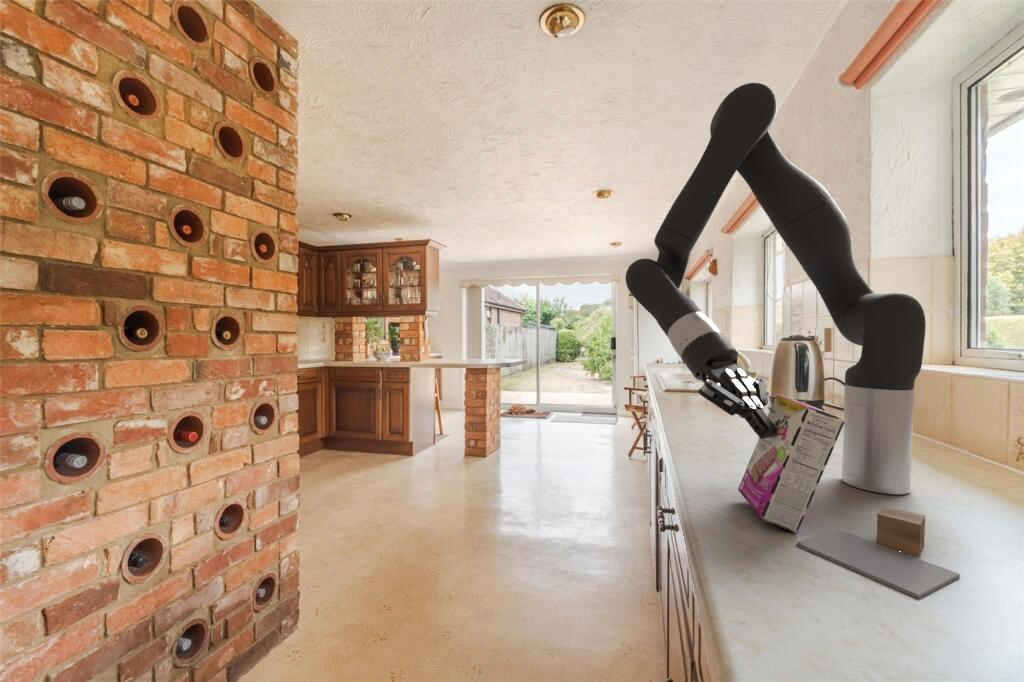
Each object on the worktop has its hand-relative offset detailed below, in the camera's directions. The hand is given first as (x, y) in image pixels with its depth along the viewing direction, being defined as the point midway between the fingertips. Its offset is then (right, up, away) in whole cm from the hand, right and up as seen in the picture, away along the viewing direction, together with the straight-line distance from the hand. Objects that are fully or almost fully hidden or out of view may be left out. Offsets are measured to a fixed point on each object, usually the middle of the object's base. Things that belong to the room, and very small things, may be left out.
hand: (769, 435), depth 63 cm
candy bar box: (0, -11, +1) cm, 11 cm away
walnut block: (+12, -12, -7) cm, 19 cm away
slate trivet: (+5, -12, -11) cm, 17 cm away
